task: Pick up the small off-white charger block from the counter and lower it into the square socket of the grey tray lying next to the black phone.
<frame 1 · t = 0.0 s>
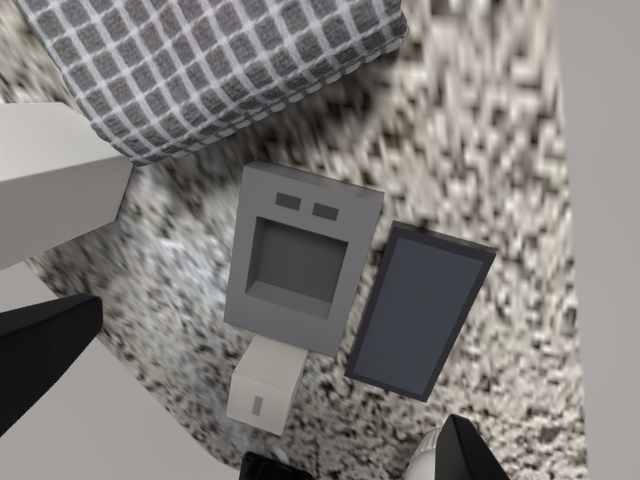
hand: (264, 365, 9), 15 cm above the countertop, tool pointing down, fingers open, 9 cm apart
milk: (92, 163, 25), on the countertop
phone: (410, 313, 24), on the countertop
grey tray: (303, 254, 24), on the countertop
charger: (281, 354, 28), on the countertop
muffin: (444, 441, 28), on the countertop
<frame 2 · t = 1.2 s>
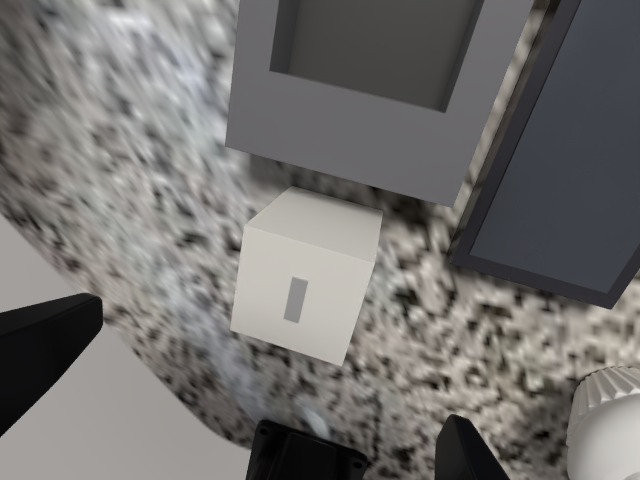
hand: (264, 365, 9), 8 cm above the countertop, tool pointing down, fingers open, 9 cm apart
phone: (600, 122, 12), on the countertop
grey tray: (384, 3, 12), on the countertop
charger: (326, 240, 16), on the countertop
muffin: (613, 391, 16), on the countertop
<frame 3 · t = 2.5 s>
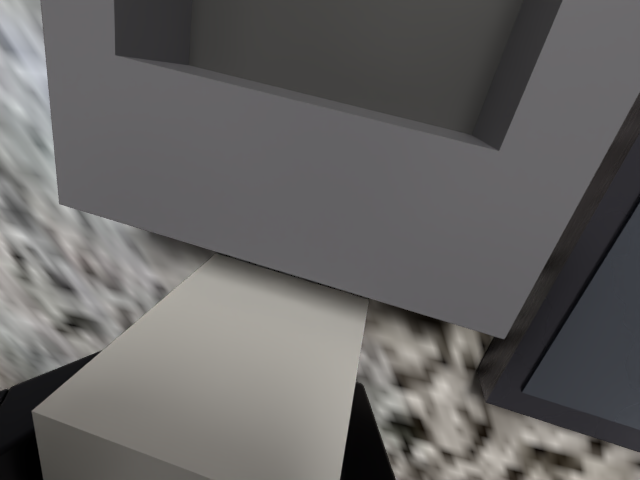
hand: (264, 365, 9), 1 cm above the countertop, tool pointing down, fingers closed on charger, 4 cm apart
charger: (277, 338, 10), on the countertop, touching gripper
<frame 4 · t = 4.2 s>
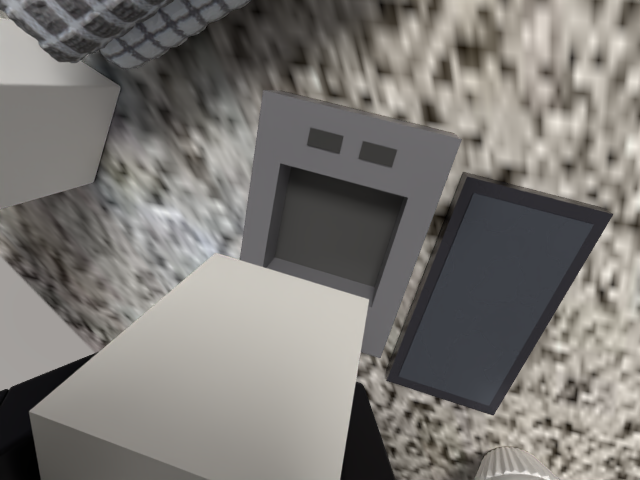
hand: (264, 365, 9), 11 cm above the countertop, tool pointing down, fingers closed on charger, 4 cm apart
milk: (63, 107, 19), on the countertop
phone: (477, 299, 18), on the countertop
grey tray: (337, 222, 18), on the countertop
charger: (277, 338, 10), point 10 cm above the countertop, touching gripper
muffin: (508, 462, 22), on the countertop
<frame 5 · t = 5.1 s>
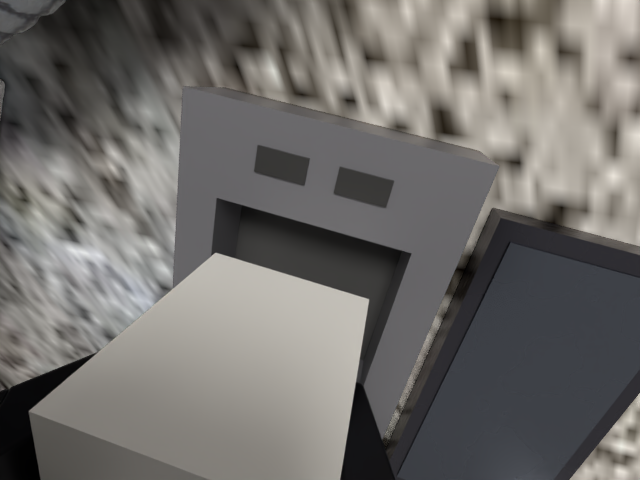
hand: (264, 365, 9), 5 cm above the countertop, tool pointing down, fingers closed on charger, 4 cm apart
phone: (508, 381, 13), on the countertop
grey tray: (310, 272, 13), on the countertop
charger: (277, 338, 10), point 4 cm above the countertop, touching gripper
when the fingers open (3 cm above the countertop, at t = 5.8 s): charger drops 2 cm, resting on grey tray.
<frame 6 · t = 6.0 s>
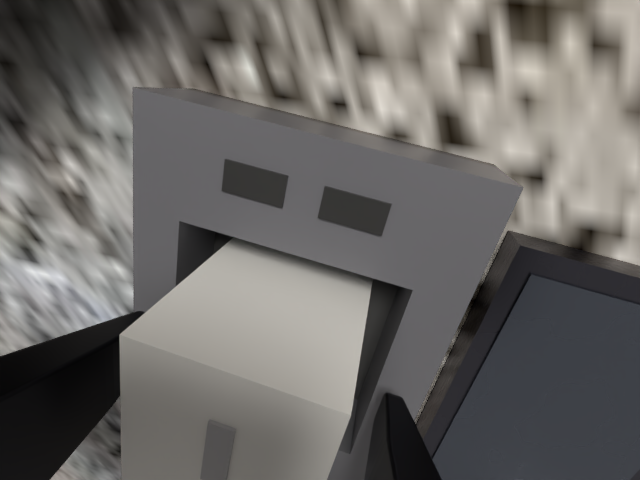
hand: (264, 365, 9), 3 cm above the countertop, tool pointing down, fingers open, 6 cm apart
phone: (523, 425, 11), on the countertop
grey tray: (297, 300, 11), on the countertop
charger: (293, 306, 11), resting on grey tray
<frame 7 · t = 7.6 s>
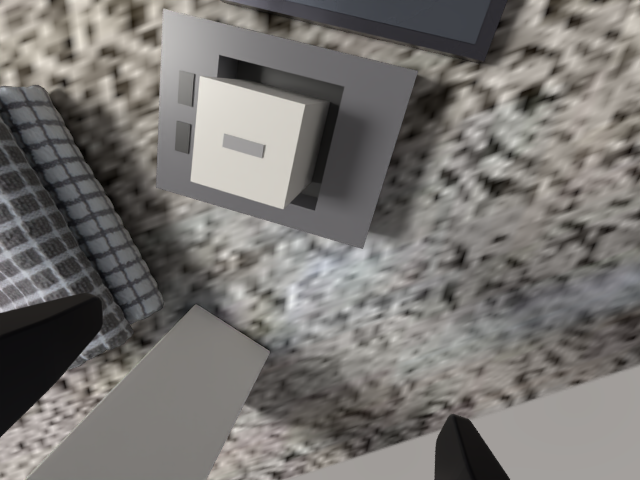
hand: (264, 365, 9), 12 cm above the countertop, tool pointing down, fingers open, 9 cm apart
milk: (217, 352, 25), on the countertop
towel: (35, 239, 25), on the countertop
grey tray: (285, 132, 18), on the countertop
charger: (282, 132, 18), resting on grey tray
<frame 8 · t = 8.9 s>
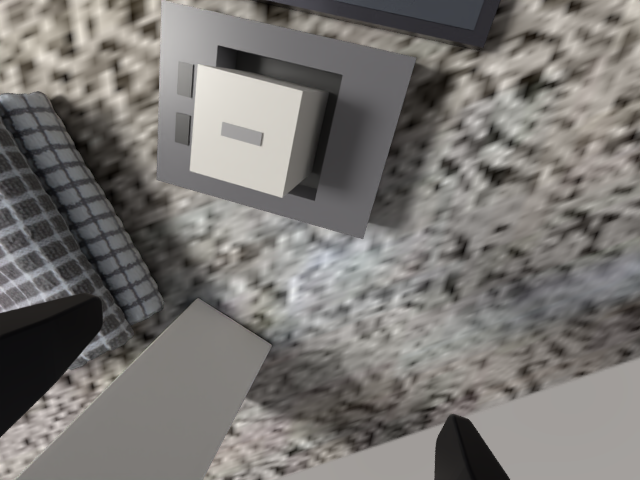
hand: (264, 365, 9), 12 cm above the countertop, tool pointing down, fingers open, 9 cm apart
milk: (220, 346, 25), on the countertop
towel: (39, 242, 26), on the countertop
grey tray: (284, 123, 18), on the countertop
charger: (282, 124, 18), resting on grey tray
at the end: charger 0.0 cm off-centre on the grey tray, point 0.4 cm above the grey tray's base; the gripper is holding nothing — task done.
